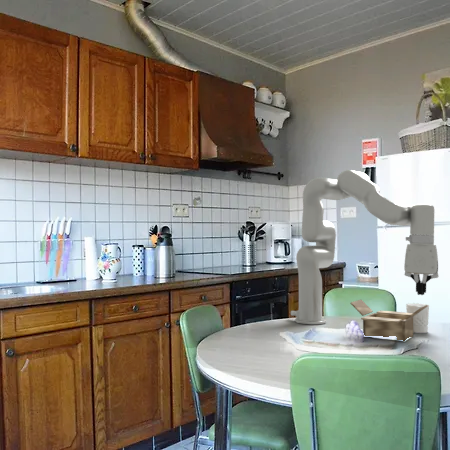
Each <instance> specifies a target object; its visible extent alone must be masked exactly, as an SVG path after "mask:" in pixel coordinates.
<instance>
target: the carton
mask: <svg viewBox="0 0 450 450" xmlns="http://www.w3.org/2000/svg"><path fill="white" fill-rule="evenodd" d="M411 314H413V313H407V312H402V311H401V312H400V311H391V310H378V311H376V312H372V313H369V314H366V315H364V316H362V317H361V319H360V320H362V334H363V333H364V335H365V336H383V337H389V336H396V337H397V340H403V341H405V340H406V339H407V338H409V337H412V338H413V337H414V335H415V333H413V317H411V318H409V319H407V320H406V318H407V317H409V316H410V315H411Z"/></svg>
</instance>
